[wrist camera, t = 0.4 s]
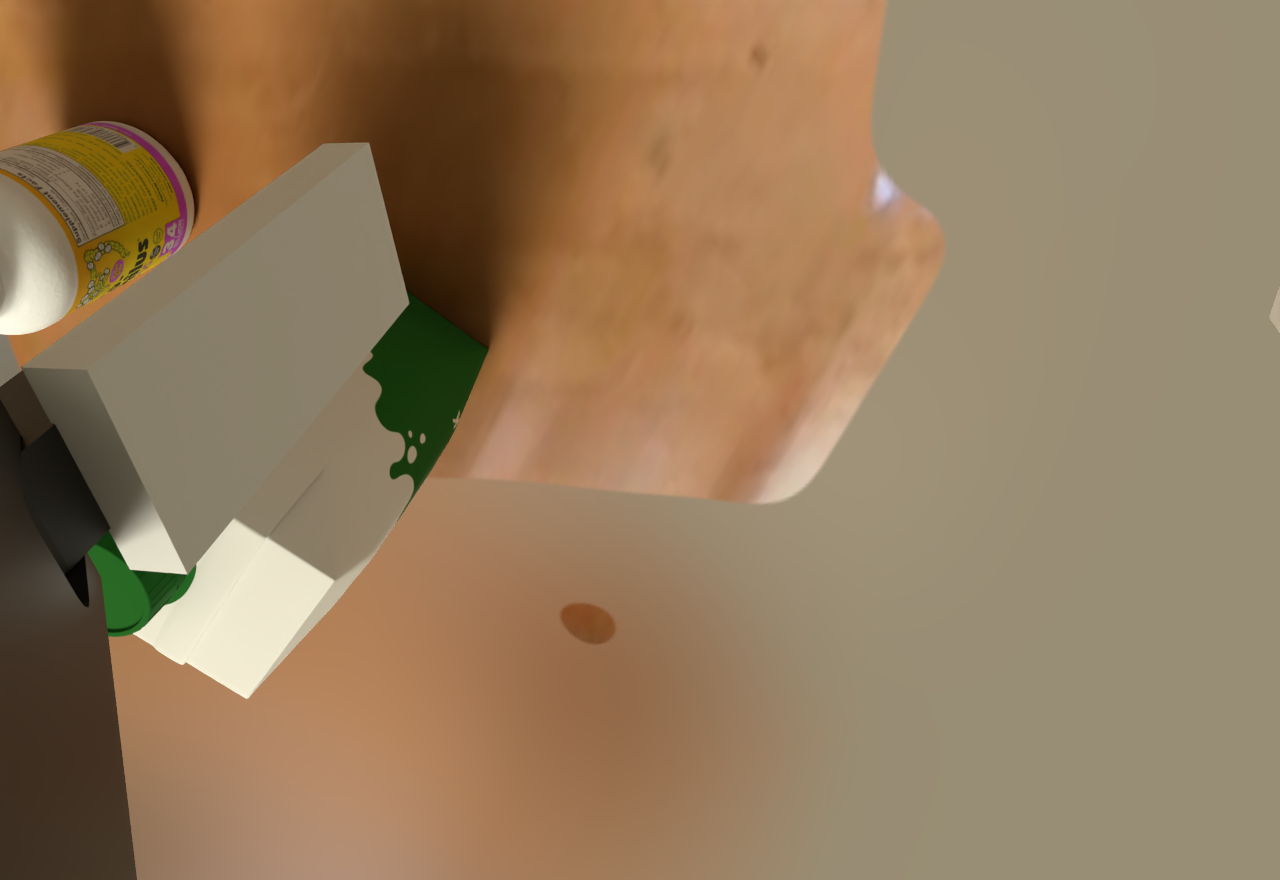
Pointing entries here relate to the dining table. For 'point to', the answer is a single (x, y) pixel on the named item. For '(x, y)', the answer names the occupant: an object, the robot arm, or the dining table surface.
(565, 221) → the dining table surface
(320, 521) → the milk carton
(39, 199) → the supplement bottle
